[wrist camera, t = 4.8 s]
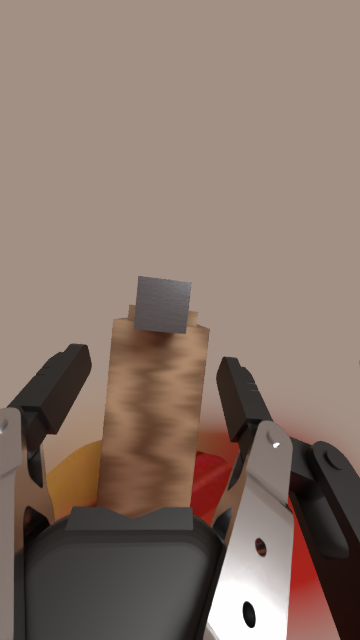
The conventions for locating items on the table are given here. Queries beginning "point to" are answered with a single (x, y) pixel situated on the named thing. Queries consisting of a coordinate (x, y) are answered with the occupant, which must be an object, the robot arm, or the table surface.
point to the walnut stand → (151, 417)
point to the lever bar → (162, 305)
